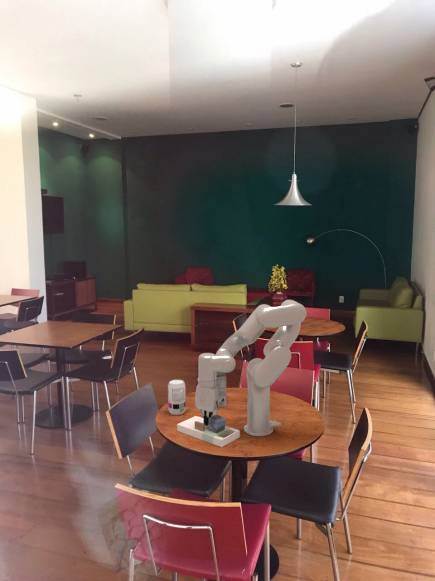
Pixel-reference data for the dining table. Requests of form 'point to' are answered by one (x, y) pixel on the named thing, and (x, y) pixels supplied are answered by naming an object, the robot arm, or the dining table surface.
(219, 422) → the block
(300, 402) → the dining table surface
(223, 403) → the coffee box
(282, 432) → the dining table surface
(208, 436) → the board
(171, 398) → the supplement can
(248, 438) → the dining table surface
